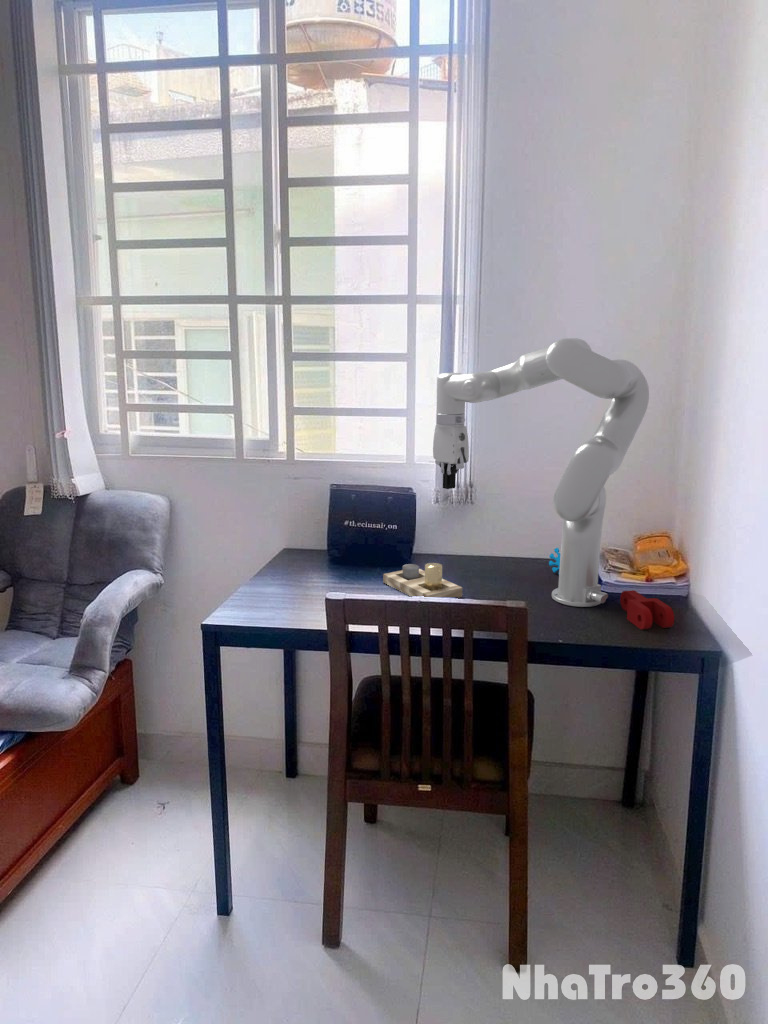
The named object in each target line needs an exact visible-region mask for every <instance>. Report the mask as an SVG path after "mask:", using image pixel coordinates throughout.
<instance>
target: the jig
mask: <svg viewBox="0 0 768 1024" xmlns="http://www.w3.org/2000/svg"><path fill="white" fill-rule="evenodd" d="M382 576H383V577H382V582H383V584H384V583H385V585H386V584H387V585H386V586H388V585H389V586H388V587H390V586H391V588H392V587H393V589H394V588H396V589H397V590H396V589H395V590H396V591H398V590H399V591H398V592H400V591H401V593H402V592H403V594H404V593H406V594H408V595H409V596H408V595H407V596H408V597H410V596H424V597H458V598H462V597H463V587H462V586H460V585H458V584H456V583H453V582H451V581H448V580H447V579H444V578H442V589H439V590H434V591H429V590H427V589H425V569H424V570H423V569H422V568H420V566H419V565H417V564H414V563H408V564H407V563H406V564H404V565H402V569H401V570H396V571H392V572H386V573H383V574H382ZM406 594H405V595H406ZM458 598H457V599H458Z"/></svg>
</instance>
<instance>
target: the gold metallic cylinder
mask: <svg viewBox="0 0 768 1024" xmlns="http://www.w3.org/2000/svg"><path fill="white" fill-rule="evenodd" d="M424 571H425V589H427V590H429V591H434V590H439V589H442V579H443V564H441V563H438V562H428V563H425V564H424Z"/></svg>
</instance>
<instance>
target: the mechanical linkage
mask: <svg viewBox="0 0 768 1024" xmlns="http://www.w3.org/2000/svg"><path fill="white" fill-rule="evenodd" d="M619 597H620V598H619V599H620V600H619V601H620V606H621V609H622V610H624V611H625V612H627V613H626V620H627V621H628V622H630V623H631V624H633V625H634V626H635V627H637V628H639V629H640V630H649V629H651V628H652V626H653V623H655V625H658V627H660V628H662V629H667V628H672V627H673V626H674V624H675V623H674V622H675V613H674V611H673V609H672V607H671V606H670V605H668V604H666V603H665V602H664V601H662V600H660V599H659V598H657V597H653V598H652V597H651V598H647V597H646V596H644V595H642V594H640V593H639V592H638V591H635V590H634V589H633V590H632V589H631V590H623V591H622V592H621V593H620V596H619Z"/></svg>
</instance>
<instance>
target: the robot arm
mask: <svg viewBox="0 0 768 1024" xmlns="http://www.w3.org/2000/svg"><path fill="white" fill-rule="evenodd" d="M560 380H563V381H566V382H568V383H570V384H572V385H573V386H575V387H578V388H579V389H581V390H583V391H585V392H587V393H589V394H591V395H593V396H595V397H598V398H601V399H603V400H604V399H606V400H607V399H608V400H610V403H609V405H608V407H607V409H606V410H605V411H604V414H603V416H602V417H601V420H600V422H599V424H598V426H597V428H596V430H595V432H594V434H593V435H592V437H591V439H589V440H587V441H585V442H583V443H582V444H581V445H579V446H578V447H577V449H576V450H575V452H574V453H573V454H572V456H571V458H570V460H569V462H568V464H567V467H566V468H565V470H564V473H563V475H562V476H561V479H560V481H559V483H558V485H557V487H556V489H555V491H554V493H553V500H552V503H553V504H552V505H553V508H554V509H553V510H555V513H556V514H557V516H559V518H561V519H562V520H563V521H562V525H561V527H562V528H561V539H560V552H559V553H560V569H559V570H558V584H557V585H558V587H557V588H555V589H553V590H552V591H551V598H552V599H553V600H554V601H555V602H557V603H559V604H563V605H566V606H570V607H578V608H579V607H580V608H584V607H585V608H589V607H595V606H598V605H601V604H604V603H605V602H606V601H607V599H608V598H609V594H608V593H606V592H603V591H602V585H601V584H599V573H600V572H599V571H600V570H599V569H600V556H601V543H602V532H603V523H604V516H605V509H606V504H607V492H606V488H605V486H606V483H607V482H608V479H609V478H610V476H611V475H613V474H614V473H615V472H617V471H618V470H619V469H620V467H621V466H622V463H623V461H624V459H625V456H626V454H627V452H628V450H629V448H630V446H631V444H632V443H633V441H634V438H635V436H636V434H637V432H638V429H639V427H640V425H641V424H642V421H643V419H644V418H645V416H646V415H645V414H646V413H647V409H648V405H649V400H650V389H649V385H648V384H649V383H648V381H647V379H646V377H645V375H644V373H643V372H642V370H641V369H640V368H639V367H638V366H637V365H636V364H635V363H633V362H631V361H630V360H626V359H613V360H612V359H610V358H607V357H605V356H604V355H602V354H599V353H597V352H594V351H593V350H592V348H591V346H590V344H589V343H588V342H586V341H585V340H583V339H581V338H572V337H571V338H568V337H567V338H566V337H565V338H560V339H558V340H557V341H555V342H553V343H552V344H551V345H549V346H547V347H542V348H541V349H540V348H539V349H537V350H534V351H531V352H528V353H525V354H522V355H520V357H519V358H518V359H517V360H516V361H513V362H512V363H509V364H507V365H504V366H501V367H498V368H495V369H493V370H492V369H491V370H488V371H480V372H479V371H478V372H472V373H465V374H464V373H461V372H441V373H439V374H438V375H437V378H436V411H435V412H436V414H435V415H436V417H435V419H436V421H435V422H436V423H435V427H434V435H433V441H432V442H433V443H432V444H433V445H432V456H433V459H434V460H435V464H436V465H437V466H439V467H440V472H441V474H442V489H445V490H451V489H455V488H456V486H457V485H456V483H457V482H456V480H457V474H458V472H459V470H464V468H465V463H468V462H469V457H470V453H469V451H470V449H469V448H470V446H469V435H468V429H467V426H466V425H465V423H466V418H465V416H466V403H470V404H476V403H482V402H487V401H493V400H496V399H499V398H502V397H506V396H508V395H509V396H510V395H513V394H516V393H519V392H521V391H526V390H531V389H535V388H538V387H541V386H544V385H547V384H551V383H554V382H557V381H560Z"/></svg>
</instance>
